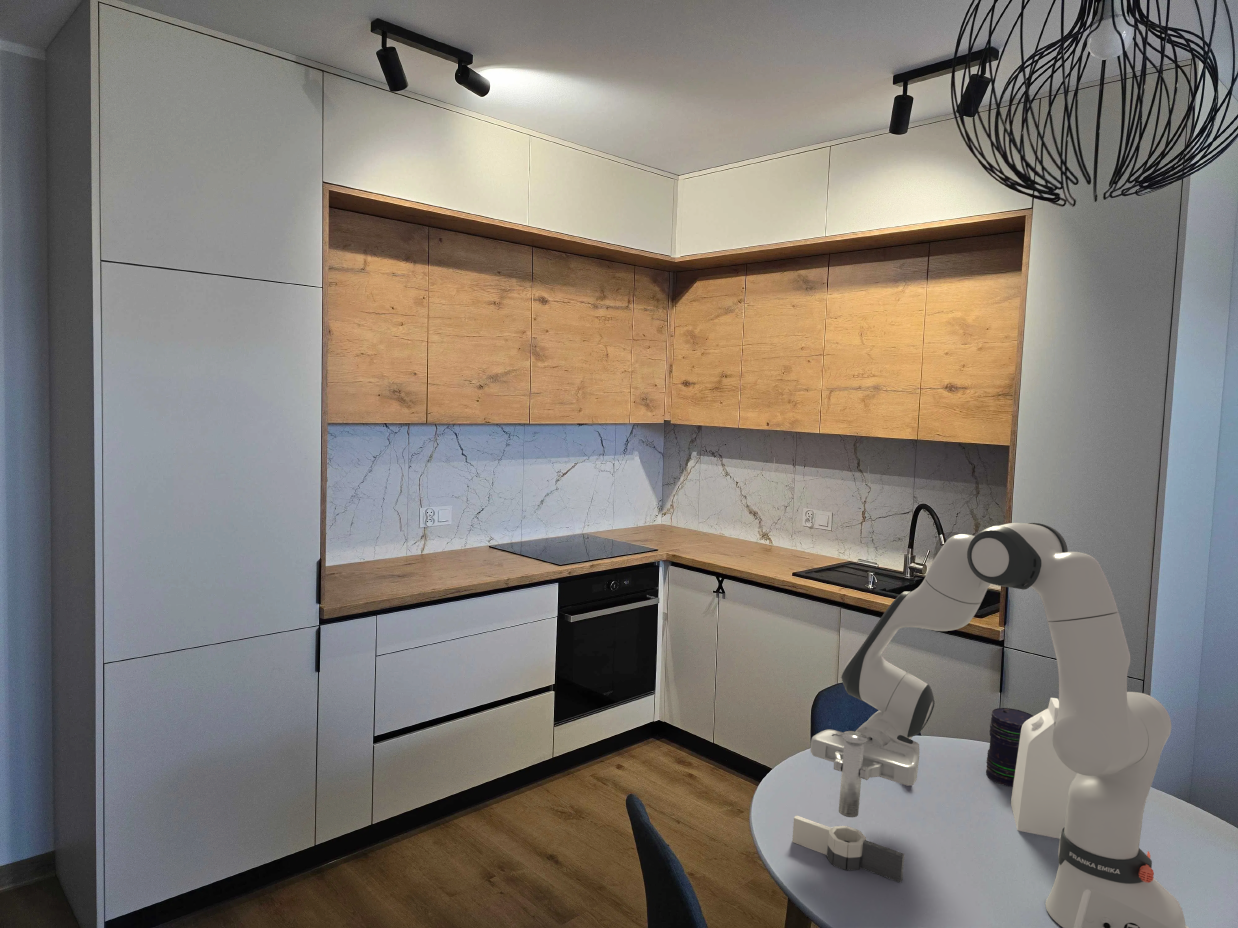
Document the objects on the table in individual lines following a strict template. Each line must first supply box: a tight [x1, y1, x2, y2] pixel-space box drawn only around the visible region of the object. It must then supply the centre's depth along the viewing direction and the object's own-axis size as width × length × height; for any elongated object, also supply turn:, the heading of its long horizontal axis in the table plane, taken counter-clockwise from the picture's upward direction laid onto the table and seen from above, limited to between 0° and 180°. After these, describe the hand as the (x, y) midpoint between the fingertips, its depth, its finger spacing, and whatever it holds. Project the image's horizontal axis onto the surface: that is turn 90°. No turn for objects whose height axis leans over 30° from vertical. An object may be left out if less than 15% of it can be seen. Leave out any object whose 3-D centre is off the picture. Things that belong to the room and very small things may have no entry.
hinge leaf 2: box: [826, 839, 905, 883], centre depth 157 cm, size 14×6×5 cm, turn 55°
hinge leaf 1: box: [791, 815, 867, 858], centre depth 161 cm, size 14×6×5 cm, turn 55°
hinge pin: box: [838, 730, 867, 818], centre depth 158 cm, size 4×4×15 cm
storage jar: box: [985, 707, 1034, 788], centre depth 196 cm, size 10×10×15 cm
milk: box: [1010, 697, 1077, 840], centre depth 176 cm, size 12×12×26 cm
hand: (850, 770), depth 157 cm, fingers closed on hinge pin, 4 cm apart
